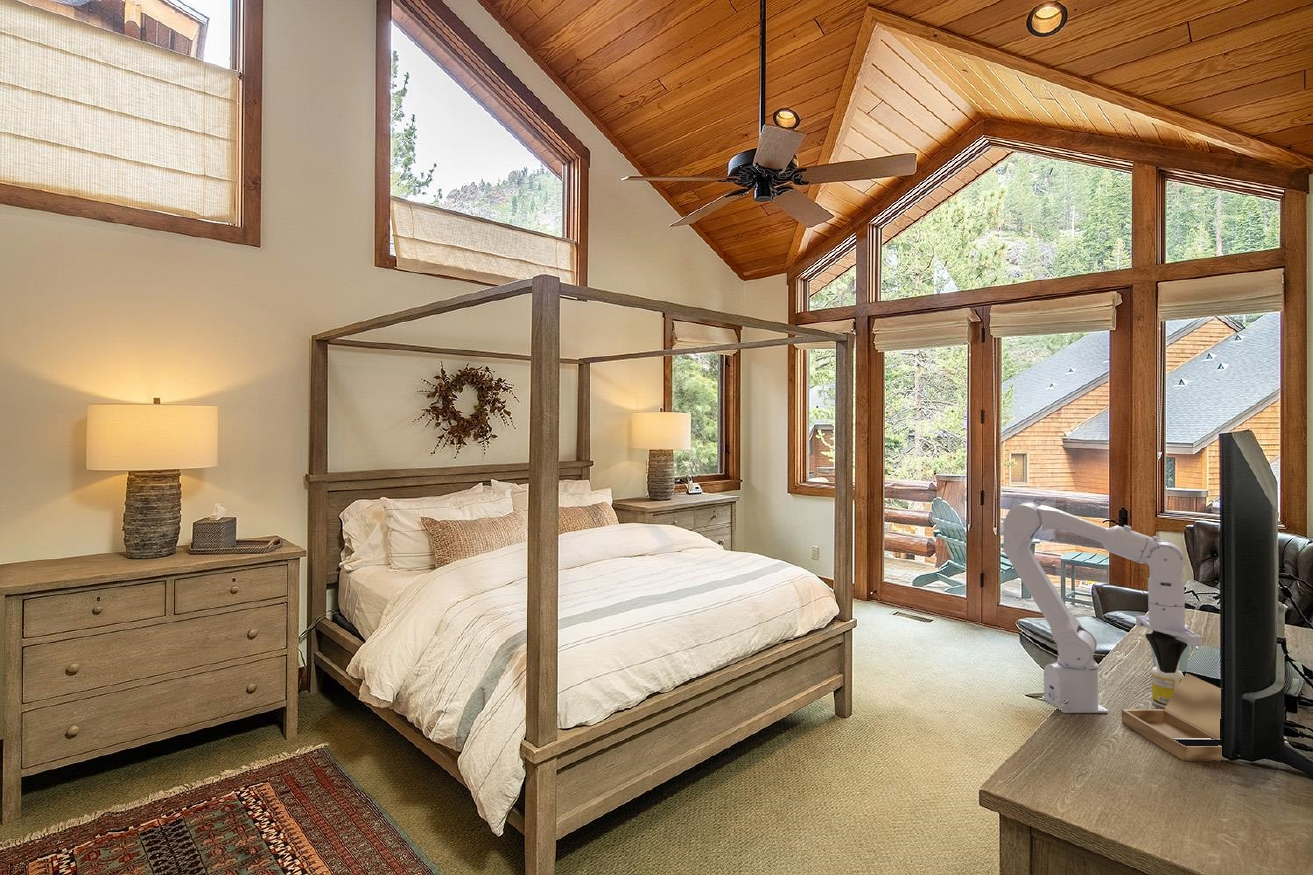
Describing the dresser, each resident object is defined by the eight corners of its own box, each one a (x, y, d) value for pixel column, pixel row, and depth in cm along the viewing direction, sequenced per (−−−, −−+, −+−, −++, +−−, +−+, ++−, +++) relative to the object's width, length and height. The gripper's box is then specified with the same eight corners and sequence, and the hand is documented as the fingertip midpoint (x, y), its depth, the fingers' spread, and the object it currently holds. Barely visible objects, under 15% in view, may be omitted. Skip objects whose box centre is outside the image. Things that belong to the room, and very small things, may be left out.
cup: (1200, 686, 151) (1199, 640, 151) (1168, 687, 150) (1167, 641, 150) (1172, 674, 158) (1171, 630, 158) (1141, 675, 158) (1140, 631, 158)
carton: (1184, 761, 117) (1184, 746, 117) (1121, 721, 133) (1121, 709, 133) (1233, 760, 117) (1233, 746, 117) (1164, 721, 133) (1164, 709, 133)
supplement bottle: (1173, 700, 143) (1172, 655, 143) (1190, 710, 138) (1190, 663, 137) (1146, 699, 143) (1145, 654, 143) (1162, 710, 138) (1162, 663, 138)
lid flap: (1257, 705, 116) (1260, 706, 116) (1186, 672, 132) (1188, 674, 132) (1233, 746, 117) (1235, 747, 117) (1164, 708, 133) (1166, 709, 133)
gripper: (1217, 612, 124) (1218, 684, 124) (1159, 594, 139) (1160, 659, 139) (1179, 613, 124) (1180, 685, 124) (1125, 594, 139) (1126, 659, 139)
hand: (1167, 671), depth 131 cm, fingers closed
